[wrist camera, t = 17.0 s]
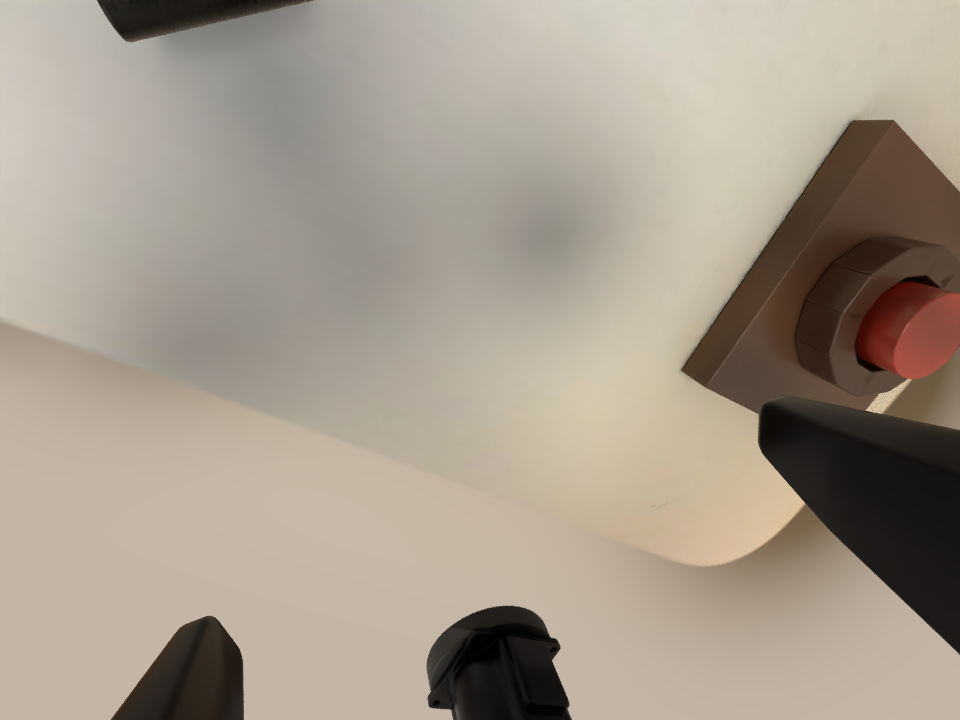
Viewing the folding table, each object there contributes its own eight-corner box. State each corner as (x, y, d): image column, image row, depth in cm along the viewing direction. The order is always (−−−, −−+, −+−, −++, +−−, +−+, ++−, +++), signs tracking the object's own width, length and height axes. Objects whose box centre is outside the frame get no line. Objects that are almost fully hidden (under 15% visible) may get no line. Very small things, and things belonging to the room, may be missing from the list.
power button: (882, 373, 22) (923, 391, 21) (838, 343, 21) (878, 361, 19) (939, 301, 21) (986, 315, 20) (897, 265, 20) (944, 277, 18)
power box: (805, 433, 27) (865, 472, 24) (681, 370, 23) (734, 408, 20) (963, 232, 24) (1054, 248, 21) (852, 119, 20) (945, 118, 17)
